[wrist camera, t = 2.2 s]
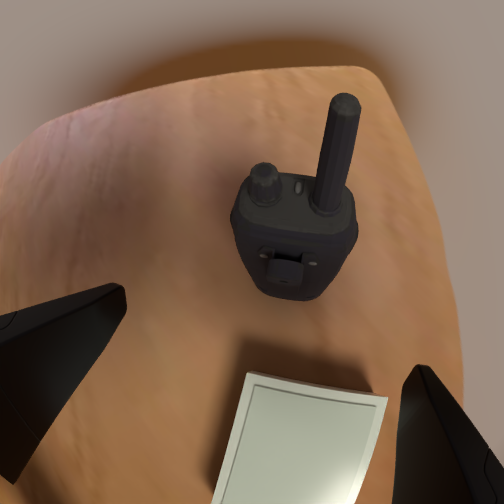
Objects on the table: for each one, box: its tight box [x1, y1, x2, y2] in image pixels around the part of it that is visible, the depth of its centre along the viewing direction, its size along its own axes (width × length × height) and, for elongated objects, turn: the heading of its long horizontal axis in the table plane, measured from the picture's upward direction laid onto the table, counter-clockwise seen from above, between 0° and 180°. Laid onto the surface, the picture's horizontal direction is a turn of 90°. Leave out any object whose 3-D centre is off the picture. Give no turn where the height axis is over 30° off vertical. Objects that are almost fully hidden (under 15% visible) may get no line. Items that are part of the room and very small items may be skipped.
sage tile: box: [211, 370, 388, 504], centre depth 15 cm, size 8×10×3 cm
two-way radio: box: [230, 93, 361, 301], centre depth 13 cm, size 6×4×15 cm
